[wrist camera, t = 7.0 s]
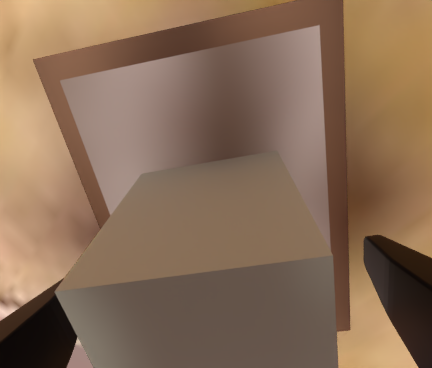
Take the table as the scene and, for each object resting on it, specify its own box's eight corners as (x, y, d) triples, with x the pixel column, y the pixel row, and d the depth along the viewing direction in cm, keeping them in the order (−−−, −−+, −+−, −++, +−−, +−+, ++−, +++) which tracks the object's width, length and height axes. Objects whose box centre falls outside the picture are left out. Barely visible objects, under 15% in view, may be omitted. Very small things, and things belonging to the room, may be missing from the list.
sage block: (277, 150, 10) (333, 255, 5) (290, 264, 12) (340, 432, 7) (141, 173, 11) (54, 291, 5) (174, 279, 13) (134, 446, 7)
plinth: (315, 6, 11) (346, -12, 8) (330, 285, 17) (352, 335, 14) (75, 58, 13) (26, 59, 10) (161, 305, 18) (147, 356, 15)
